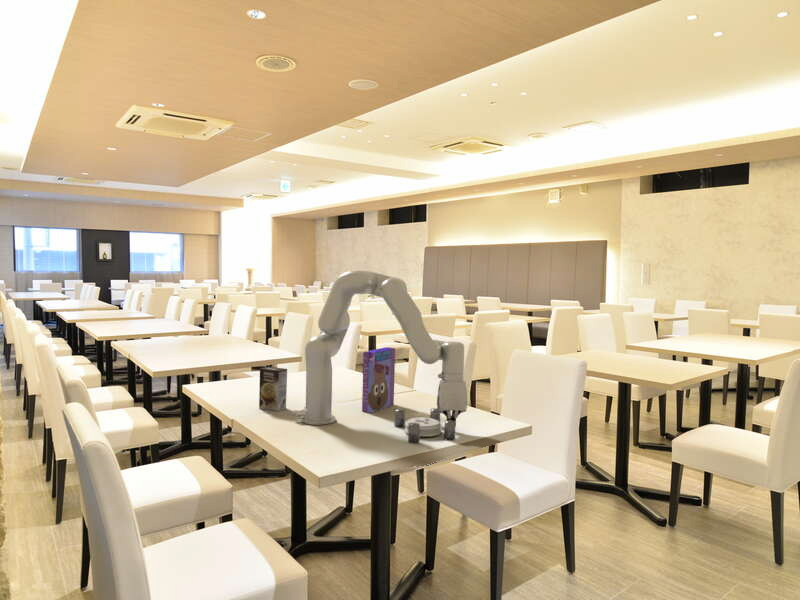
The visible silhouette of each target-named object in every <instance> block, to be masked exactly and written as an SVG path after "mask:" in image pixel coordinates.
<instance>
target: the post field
mask: <svg viewBox="0 0 800 600" xmlns="http://www.w3.org/2000/svg"><path fill="white" fill-rule="evenodd" d="M429 412H430V414H429V415H430V417H429V418H432V419H435V420H438V421H439V422H440V423H441V413H438V412H437V407H433V408H430V411H429ZM405 413H406V409H404V408H395V409H394V428H398V427H399V428H401V427H402V428H404V427H405V422H406V418H405V416H406V414H405ZM402 428H401V429H402ZM419 428H420V424H419V423H409V429H408V433H407V437H408V438H407V443H408V442H409V443H408V444H411V443H417V444H419V443H420V436H419ZM443 433H444V434H443V439H444V440H445V439H446V440H445V441H449V440H452V441H455V440H456V427H455V421H454V420H447V419H446V420H444V432H443ZM454 439H455V440H454Z"/></svg>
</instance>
